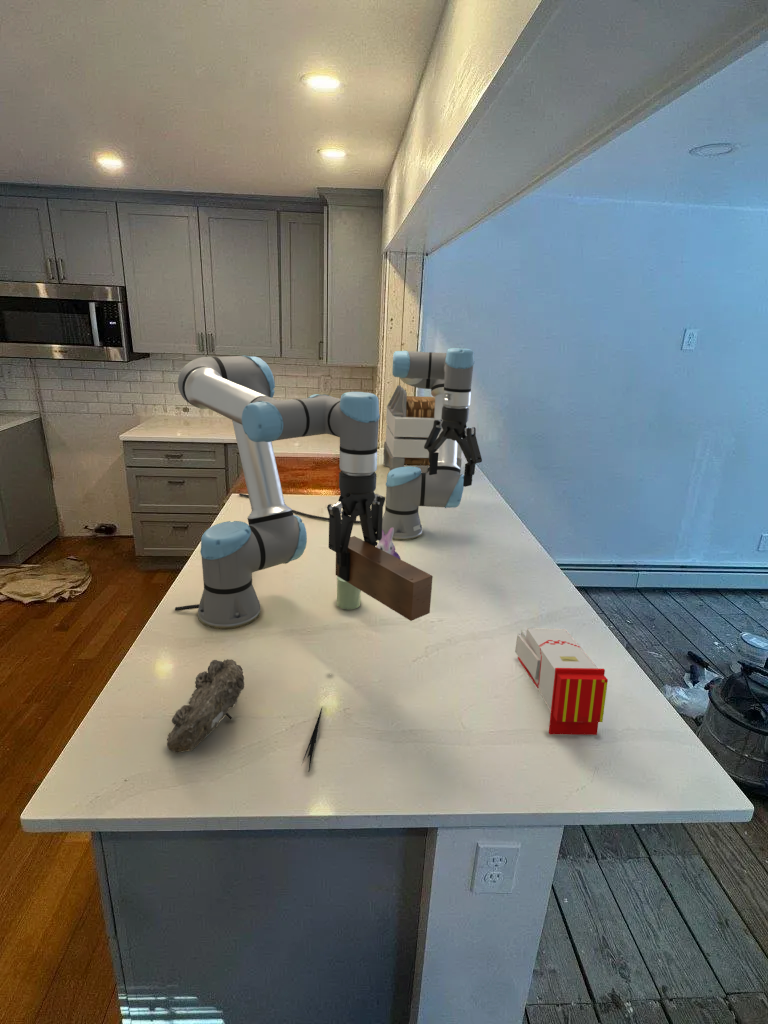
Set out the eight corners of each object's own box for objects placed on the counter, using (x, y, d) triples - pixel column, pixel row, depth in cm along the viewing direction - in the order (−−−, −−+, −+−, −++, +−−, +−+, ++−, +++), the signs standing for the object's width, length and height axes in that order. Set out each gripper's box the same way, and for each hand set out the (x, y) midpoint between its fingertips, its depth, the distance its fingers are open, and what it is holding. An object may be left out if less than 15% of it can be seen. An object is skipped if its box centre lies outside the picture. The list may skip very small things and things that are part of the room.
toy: (561, 612, 132) (617, 675, 103) (556, 665, 135) (608, 741, 106) (510, 611, 132) (551, 674, 102) (505, 664, 134) (544, 741, 105)
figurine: (381, 586, 161) (383, 537, 156) (365, 571, 170) (367, 525, 165) (409, 580, 165) (412, 533, 160) (393, 566, 174) (395, 521, 169)
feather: (331, 679, 122) (336, 673, 122) (307, 777, 96) (313, 769, 95) (324, 675, 122) (329, 669, 121) (298, 772, 95) (304, 764, 95)
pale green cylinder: (331, 602, 152) (332, 575, 149) (350, 595, 156) (351, 569, 153) (346, 612, 147) (346, 584, 145) (365, 604, 151) (366, 577, 149)
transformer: (382, 463, 289) (386, 382, 275) (445, 464, 293) (451, 384, 279) (390, 482, 257) (394, 392, 243) (460, 483, 261) (468, 394, 247)
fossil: (192, 660, 117) (244, 628, 112) (224, 691, 120) (276, 661, 115) (142, 746, 98) (202, 712, 93) (182, 779, 101) (242, 748, 96)
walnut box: (335, 575, 123) (335, 541, 120) (353, 569, 126) (354, 535, 123) (411, 621, 106) (413, 582, 103) (429, 613, 109) (432, 575, 107)
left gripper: (380, 461, 122) (375, 559, 130) (309, 473, 111) (309, 580, 119) (403, 469, 117) (397, 571, 125) (332, 482, 106) (330, 593, 114)
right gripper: (415, 400, 163) (410, 471, 171) (481, 414, 146) (473, 493, 153) (433, 398, 168) (428, 468, 175) (500, 412, 151) (491, 488, 158)
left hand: (354, 575), depth 122 cm, fingers closed on walnut box, 5 cm apart
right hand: (449, 479), depth 164 cm, fingers open, 13 cm apart
